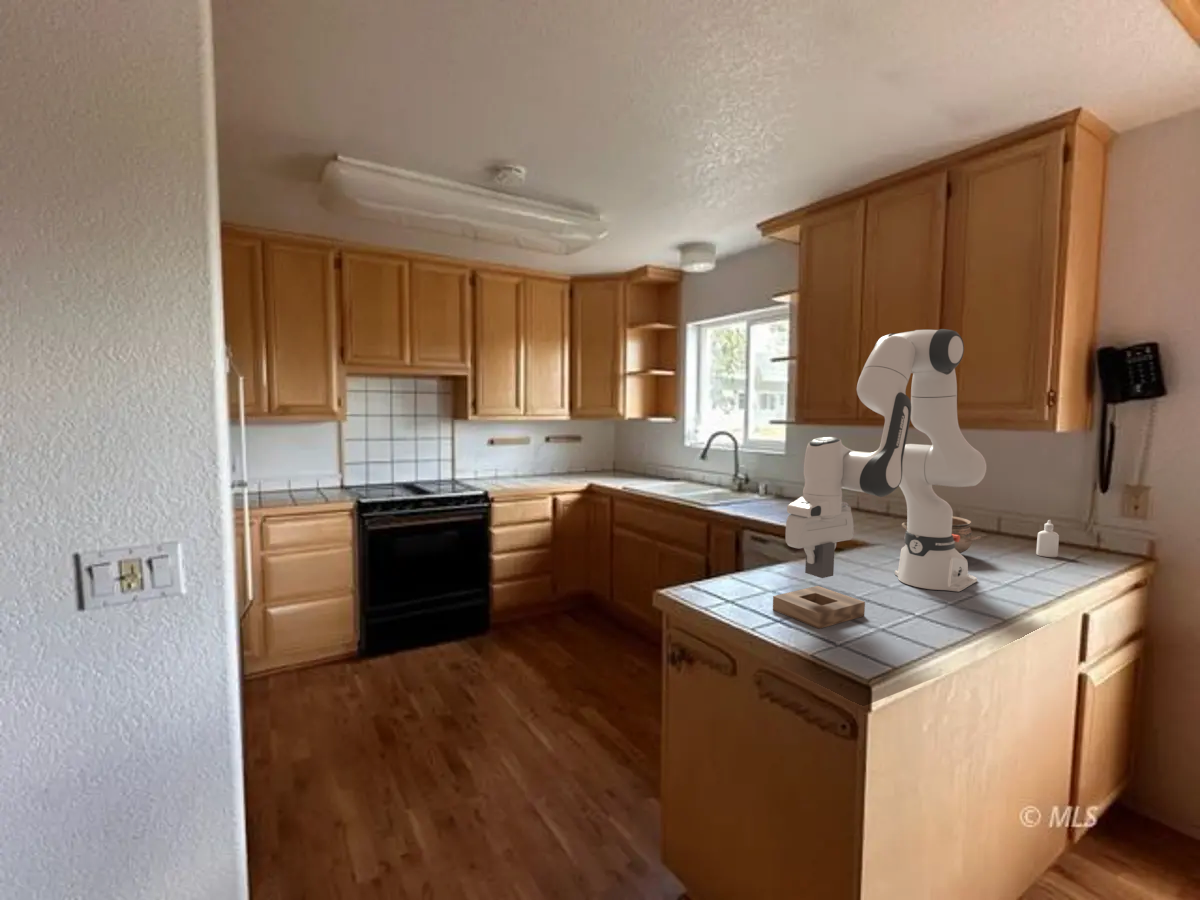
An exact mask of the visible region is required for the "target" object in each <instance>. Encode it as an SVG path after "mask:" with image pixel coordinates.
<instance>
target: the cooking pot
mask: <svg viewBox="0 0 1200 900" xmlns="http://www.w3.org/2000/svg"><path fill="white" fill-rule="evenodd" d="M970 524H972V521H971V520H969V519H968V518H963V517H959V516H954V515H953V518H952V534H954V535H959V536H960V540H959V542H955V541H954V542H955V549H956V550H957V551H958V552H959V553H960V554H962V553H964V552H966V551H967V550H969V548H970V547H971V545H973V541H977V540H981V539H982V536H980V535H979V536H973V533H972V532H973V531H972V528H971V527H970ZM901 527H902V528H904V529H905V531H906V530H907V522H902V523H901Z"/></svg>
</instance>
